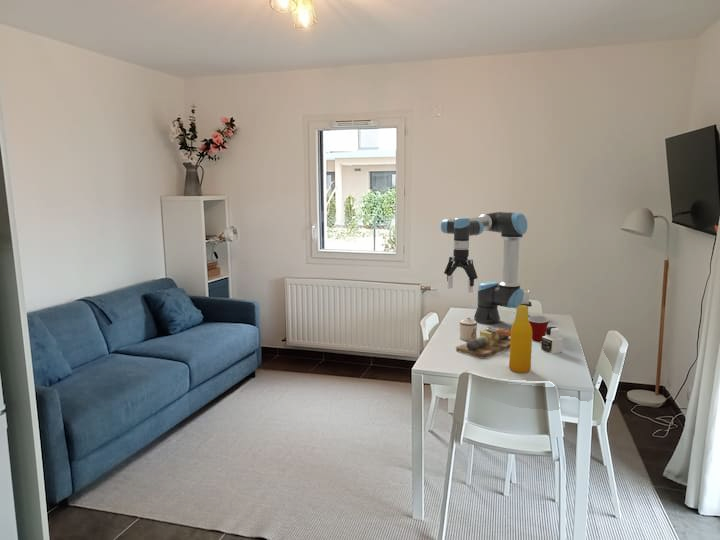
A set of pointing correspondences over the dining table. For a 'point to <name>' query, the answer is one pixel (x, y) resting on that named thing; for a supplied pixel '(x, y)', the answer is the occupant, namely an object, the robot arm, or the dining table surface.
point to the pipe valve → (486, 344)
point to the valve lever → (500, 331)
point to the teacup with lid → (468, 329)
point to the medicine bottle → (552, 341)
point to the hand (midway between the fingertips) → (460, 290)
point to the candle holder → (525, 301)
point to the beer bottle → (521, 342)
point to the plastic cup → (538, 327)
